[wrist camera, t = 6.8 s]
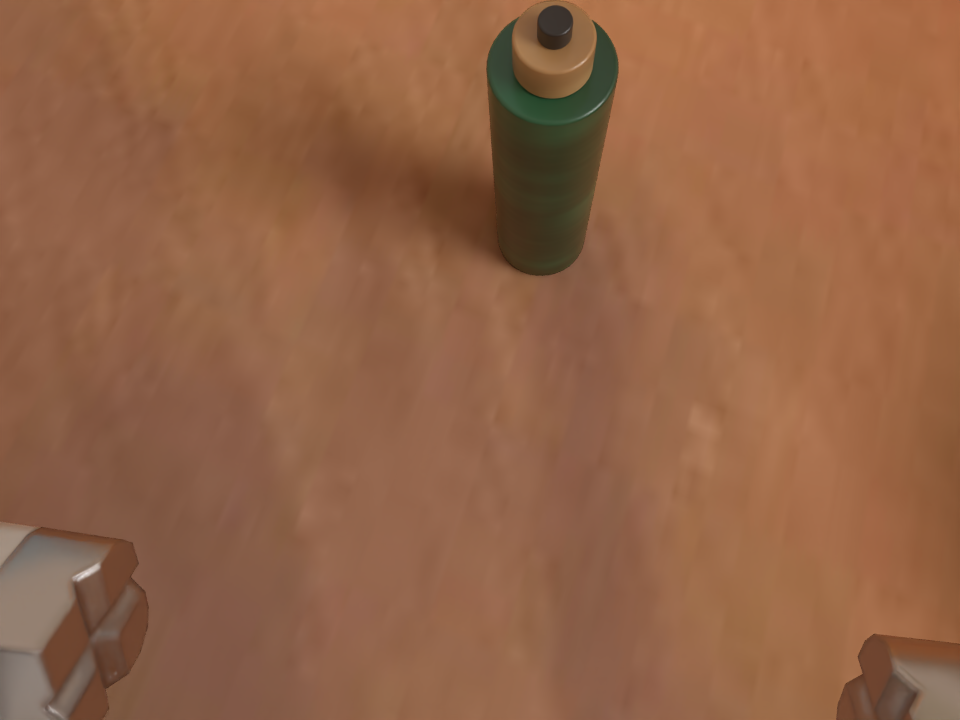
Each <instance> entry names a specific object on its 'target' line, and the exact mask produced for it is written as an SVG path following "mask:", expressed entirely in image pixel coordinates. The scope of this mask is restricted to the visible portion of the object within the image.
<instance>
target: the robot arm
mask: <svg viewBox="0 0 960 720" xmlns="http://www.w3.org/2000/svg"><path fill="white" fill-rule="evenodd" d="M138 564H139V563H138V560H137V556H136V553H135V549H134V546H133V543H132V542H129V541H125V540H122V539H116V538H109V537H103V536H96V535H90V534H83V533H77V532H70V531H64V530H57V529H51V528H44V527H34V526H27V525H20V524H14V523H7V522H0V720H103V718H104V717H105V715H106V713H107V711H108V710H109V705H108V699H107V694H106V688H108V687H109V686H111V685H112V684H114V683H115V682H117V681H118V680H120V679H121V678H123V677H124V676H126V675H127V674H129V672H130V670H131V668H132V667H133V665H134V663H135V661H136V659H137V657H138V655H139V654H140V652H141V649H142V645H143V642H144V638H145V635H146V631H147V628H148V609H149V606H148V602H147V597H146V592H145V591H144V590H143V589H142V588H141V587H140V586H139V585H138V584H137V583H136V582H135V581H134V580H133V579H132V578H131V575H132V574H133V572H134V570H135V569H136V567H137V566H138ZM858 659H859V663H860V666H861V669H862V673H863V674H862V675H860V676H858V677H856V678H855V679H853V680H851V681H849V682H848V683H846V684H845V687H844V689H843V692H842V694H841V697H840V700H839V702H838V707H837V718H836V720H960V644H958V643H949V642H940V641H932V640H923V639H914V638H906V637H897V636H888V635H880V634H873V635H872V636H870V637H869V638H868V639H867V640H865V642H864V644H863V646H862V648H861V650H860V653H859V655H858Z"/></svg>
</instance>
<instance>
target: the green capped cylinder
mask: <svg viewBox="0 0 960 720" xmlns="http://www.w3.org/2000/svg"><path fill="white" fill-rule="evenodd" d="M617 78H618V57H617V53H616V50H615V47H614V45H613V43H612V41H611V39H610V38H609V36H608V35H607V33H606V32H605V31H604V30H603V29H602V28H601V27H600V26H599V25H598V24H597V23H596V22H594V21H593V20H591V18H590V17H589V16H588V14H587V13H586V12H585V11H584V10H582V9H581V8H580V7H578V6H576V5H574V4H572V3H569V2H566V1H560V0H550V1H544V2H540V3H538V4H535V5H533V6H532V7H530V8H528V9H527V10H526V11H525V12H524V13H523V14H522V15H521V16H520V17H518V18H516V19H515V20H513V21H512V22H511V23H509V24H508V25H507V26H506V27H505V28H504V29H503V30H502V31H501V32H500V33H499V35H498V36H497V38H496V39H495V40H494V42H493V44H492V46H491V48H490V51H489V54H488V59H487V85H488V100H489V115H490V130H491V145H492V160H493V175H494V190H495V205H496V220H497V235H498V243H499V247H500V249H501V252H502V254H503V255H504V257H505V258H506V259H507V261H508V262H509V263H510V264H511V265H513V266H514V267H515V268H517V269H518V270H520V271H522V272H525V273H528V274H531V275H541V276H543V275H551V274H555V273H557V272H560V271H562V270H564V269H566V268H567V267H568V266H570V265H571V264H572V263H573V262H574V261H575V260H576V259H577V257H578V256H579V254H580V252H581V250H582V248H583V244H584V240H585V235H586V230H587V225H588V220H589V215H590V210H591V206H592V201H593V196H594V191H595V186H596V181H597V176H598V171H599V166H600V161H601V157H602V152H603V147H604V142H605V137H606V132H607V127H608V122H609V117H610V112H611V108H612V103H613V98H614V93H615V88H616V83H617Z"/></svg>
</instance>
